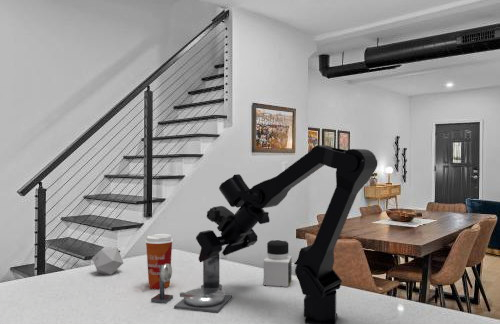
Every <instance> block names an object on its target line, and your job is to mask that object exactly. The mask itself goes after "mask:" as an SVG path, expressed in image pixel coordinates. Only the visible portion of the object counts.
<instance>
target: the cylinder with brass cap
mask: <svg viewBox="0 0 500 324" xmlns="http://www.w3.org/2000/svg"><path fill="white" fill-rule="evenodd" d="M220 266H221V265H220V252H219V253H218V255H216V256H214V257H212V258H210V259H207V260H205V261H203V262H202V276H203V277H202V279H203V280H202V284H201V286H200V288H214V289H219V290H221V291H223V285H221V284H220V283H221V282H220V274H221V273H220Z"/></svg>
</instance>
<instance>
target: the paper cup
mask: <svg viewBox="0 0 500 324" xmlns="http://www.w3.org/2000/svg"><path fill="white" fill-rule="evenodd" d="M144 242H145V246H146V248H145V249H146V260H147V261H146V262H147V263H146V264H147V277H148V287H149V289H150V290H160V265H164V264H170V265H171V266H172V252H173V251H172V247H173V242H174V239H173V237H172V235H171V234H169V233H168V234H167V233H158V234H157V233H156V234H154V233H153V234H150V235H148V236H146V239H145V241H144ZM170 283H171V279H170V280H169V281H168V282H164V285H165V289H168V288H169V287H170V285H171V284H170Z"/></svg>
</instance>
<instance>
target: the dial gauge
mask: <svg viewBox="0 0 500 324" xmlns="http://www.w3.org/2000/svg"><path fill="white" fill-rule="evenodd" d="M172 274H173V267H172V264H171V265H170V264H164V265H160V289H159V293H158V294H156V295H155V296H153V297H152V298H151V299H150V302H151V303H155V304H167V303H168V302H170V301H171V300H173V299H174V298H173V297H174V295H173V294H166V292H165V290H166V288H165V285H164V282H168V281H169V280H170V281H171V278H172V276H173V275H172Z"/></svg>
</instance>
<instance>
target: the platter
mask: <svg viewBox="0 0 500 324" xmlns="http://www.w3.org/2000/svg"><path fill="white" fill-rule="evenodd" d="M225 295H226V293H225V291H223V290H219V289H214V288H201V287H200V288H194V289H189V290H188V291H186V292H183V291H181V292H179V297H181V298H183V299H184V302H185V303H186V304H189V305H192V306H212V305H217V304H220V303H222V302H223V301H224V300H225Z"/></svg>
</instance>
